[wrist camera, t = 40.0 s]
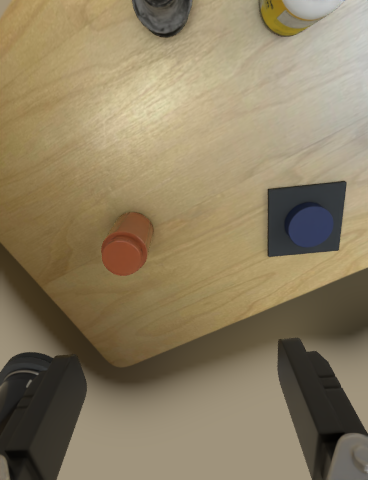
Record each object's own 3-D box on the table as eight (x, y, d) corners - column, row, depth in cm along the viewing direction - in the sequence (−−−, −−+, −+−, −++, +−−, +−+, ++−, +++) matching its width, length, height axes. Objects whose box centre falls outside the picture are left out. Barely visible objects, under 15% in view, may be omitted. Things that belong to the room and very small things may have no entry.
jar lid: (305, 249, 42) (311, 255, 41) (275, 227, 41) (278, 233, 39) (336, 217, 40) (343, 222, 38) (305, 193, 39) (310, 197, 37)
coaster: (336, 248, 43) (338, 250, 42) (267, 255, 43) (268, 257, 43) (344, 180, 39) (346, 182, 38) (267, 189, 39) (269, 190, 39)
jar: (156, 246, 43) (149, 277, 35) (118, 250, 43) (103, 281, 35) (149, 209, 41) (140, 234, 33) (110, 214, 41) (92, 239, 33)
